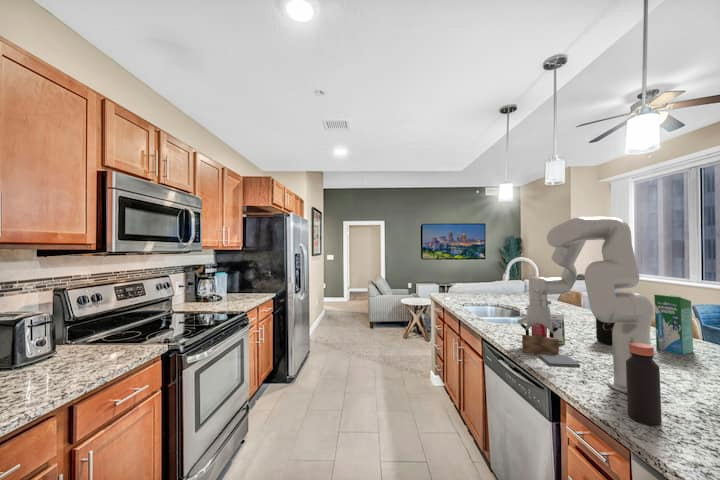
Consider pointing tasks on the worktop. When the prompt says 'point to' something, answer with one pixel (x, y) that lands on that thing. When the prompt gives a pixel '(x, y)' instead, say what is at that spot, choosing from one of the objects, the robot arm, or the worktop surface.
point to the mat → (558, 360)
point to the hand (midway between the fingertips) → (539, 339)
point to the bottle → (643, 385)
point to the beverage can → (539, 330)
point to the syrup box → (560, 332)
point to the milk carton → (673, 324)
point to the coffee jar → (604, 332)
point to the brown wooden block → (540, 345)
